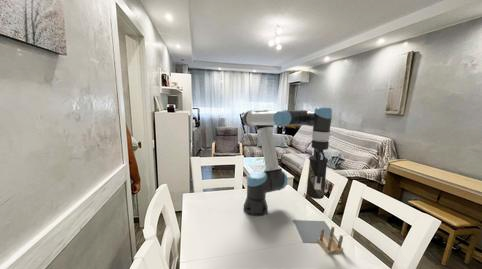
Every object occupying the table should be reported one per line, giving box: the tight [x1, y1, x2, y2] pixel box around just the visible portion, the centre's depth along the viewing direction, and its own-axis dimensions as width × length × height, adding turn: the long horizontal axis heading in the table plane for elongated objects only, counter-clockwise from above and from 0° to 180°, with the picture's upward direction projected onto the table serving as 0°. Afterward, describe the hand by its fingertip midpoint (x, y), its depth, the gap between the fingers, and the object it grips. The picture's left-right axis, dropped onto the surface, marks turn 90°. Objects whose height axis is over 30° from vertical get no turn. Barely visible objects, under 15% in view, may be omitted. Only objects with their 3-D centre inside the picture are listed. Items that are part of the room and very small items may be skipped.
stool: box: [317, 226, 344, 255], centre depth 92 cm, size 8×8×8 cm
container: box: [305, 154, 329, 200], centre depth 95 cm, size 9×9×20 cm
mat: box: [292, 219, 339, 244], centre depth 103 cm, size 18×18×1 cm
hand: (315, 185), depth 96 cm, fingers closed on container, 8 cm apart
